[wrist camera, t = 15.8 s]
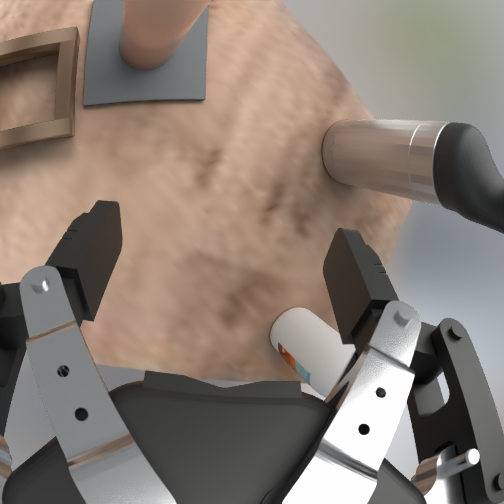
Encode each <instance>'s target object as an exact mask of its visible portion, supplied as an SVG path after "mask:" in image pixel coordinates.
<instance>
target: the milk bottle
mask: <svg viewBox="0 0 504 504" xmlns="http://www.w3.org/2000/svg"><path fill="white" fill-rule="evenodd" d="M270 339H271V343H272V345H273V347H274V348H275V349H276V350H277V351H278V352H279V354H280V355H281V356H282V357H283V358H284V359H285V360H286V361H287V362H288V363H289V364H290V365H291V367H292V368H293V369H294V370H295V371H296V372H297V373H298V374H299V375H300V376H301V377H302V378H303V379H304V380H305V381H306V382H307V383H308V384H309V385H310V386H311V387H312V388H313V389H314V390H315V391H317V392H318V393H319V394H320V395H322V396H324V397H327V396H328V395H329V393H330V392H331V390H332V389H333V387H334V385H335V384H336V382H337V380H338V378H339V377H340V375H341V373H342V371H343V369H344V368H345V366H346V364H347V362H348V360H349V359H350V357H351V355H352V353H353V352H354V351H355V347H354V346H353V345H352V344H348V345H342V341H341V337H340V334H339V333H337V332H336V331H335V330H334V329H332V328H331V327H330V326H329V325H327V324H326V323H325V322H323V321H322V320H321V319H320V318H318V317H317V316H316V315H315V314H313V313H312V312H310V311H309V310H308V309H306V308H300V307H297V308H292V309H289V310H287V311H285V312H284V313H282V314H281V315H280V316H279V317H278V318H277V320H276V321H275V322H274V324H273V326H272V328H271V332H270Z"/></svg>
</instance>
